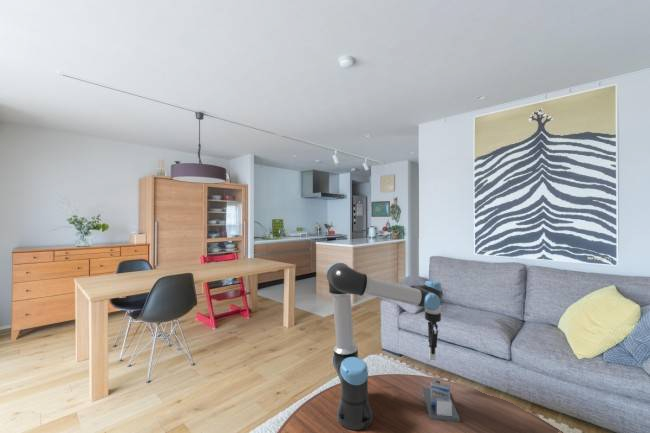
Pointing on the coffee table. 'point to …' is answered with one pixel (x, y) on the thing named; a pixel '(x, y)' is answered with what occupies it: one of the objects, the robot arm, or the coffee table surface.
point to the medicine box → (439, 391)
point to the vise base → (433, 408)
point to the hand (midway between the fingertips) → (432, 359)
